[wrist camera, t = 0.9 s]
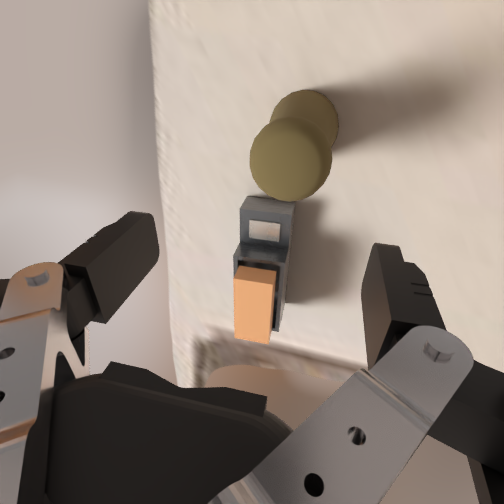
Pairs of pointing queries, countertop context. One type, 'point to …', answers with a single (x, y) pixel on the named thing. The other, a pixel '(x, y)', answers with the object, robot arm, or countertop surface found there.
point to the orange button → (254, 303)
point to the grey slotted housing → (267, 243)
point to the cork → (295, 147)
